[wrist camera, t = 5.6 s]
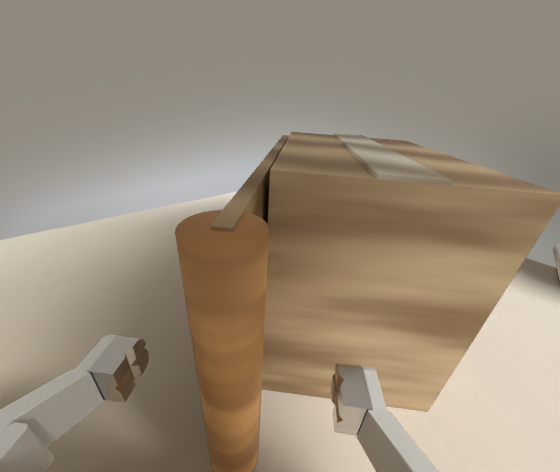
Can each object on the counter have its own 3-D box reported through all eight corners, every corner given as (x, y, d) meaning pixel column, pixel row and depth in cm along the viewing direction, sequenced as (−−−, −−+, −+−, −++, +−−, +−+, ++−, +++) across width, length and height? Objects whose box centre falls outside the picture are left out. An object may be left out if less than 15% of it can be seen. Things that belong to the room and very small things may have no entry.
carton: (281, 256, 34) (291, 129, 26) (369, 266, 33) (406, 138, 26) (260, 389, 18) (270, 164, 10) (427, 411, 17) (569, 190, 10)
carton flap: (269, 253, 34) (274, 134, 27) (286, 254, 34) (297, 136, 27) (207, 497, 13) (155, 241, 6) (252, 505, 13) (261, 252, 5)
